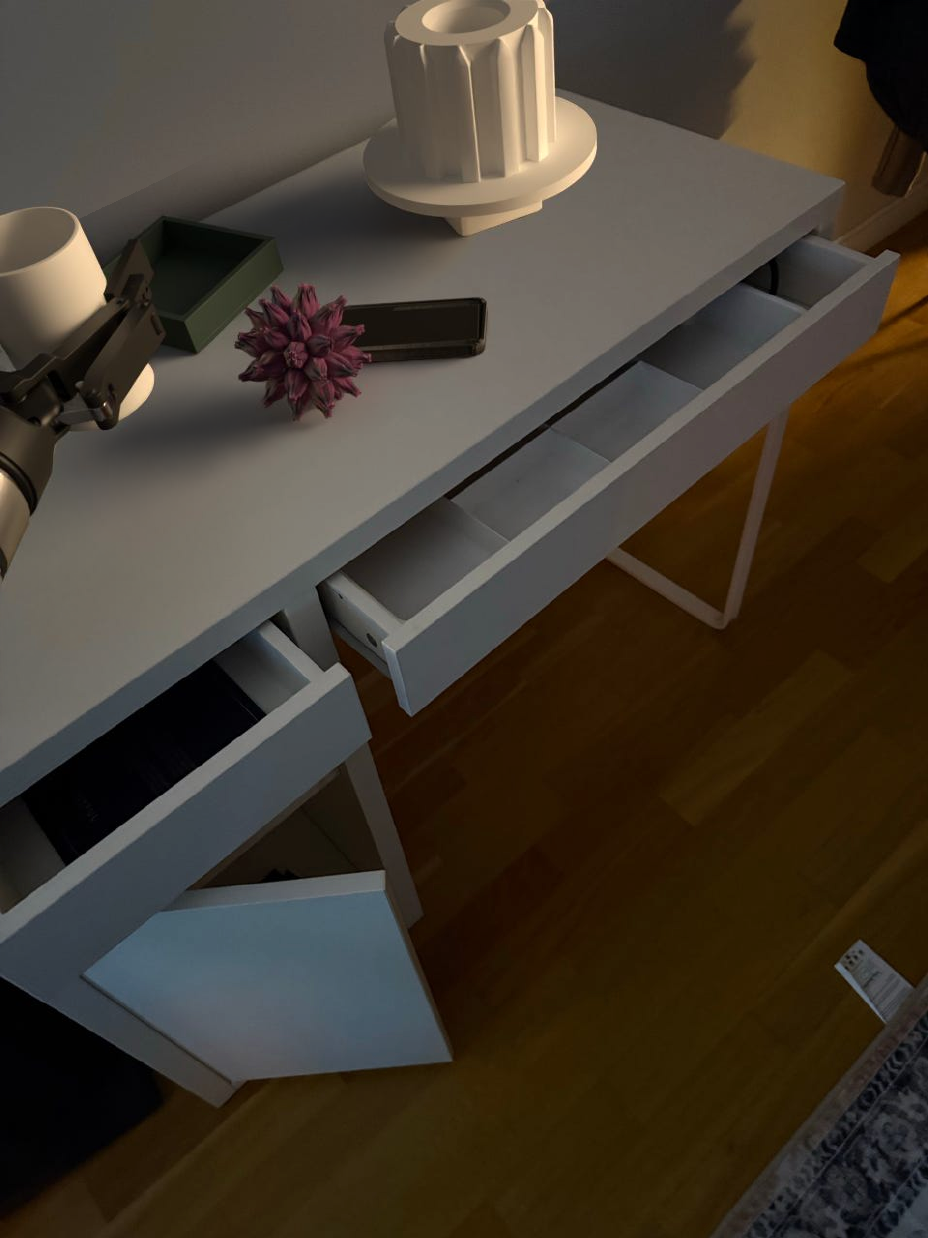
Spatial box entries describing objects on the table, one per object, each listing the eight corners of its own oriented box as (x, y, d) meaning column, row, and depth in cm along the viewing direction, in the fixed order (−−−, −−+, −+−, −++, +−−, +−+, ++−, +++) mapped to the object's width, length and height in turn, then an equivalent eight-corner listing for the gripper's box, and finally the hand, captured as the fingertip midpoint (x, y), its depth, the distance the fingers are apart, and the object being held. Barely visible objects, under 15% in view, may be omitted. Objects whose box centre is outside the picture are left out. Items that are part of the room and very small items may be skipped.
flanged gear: (532, 129, 111) (523, -54, 96) (639, 218, 97) (648, 18, 82) (344, 192, 107) (304, 10, 92) (426, 295, 92) (394, 99, 77)
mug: (75, 332, 71) (-4, 182, 61) (179, 327, 70) (115, 173, 60) (21, 435, 64) (-77, 283, 54) (136, 430, 63) (56, 274, 53)
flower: (362, 456, 81) (228, 442, 80) (376, 367, 88) (253, 353, 87) (363, 353, 71) (211, 335, 71) (379, 261, 78) (240, 245, 77)
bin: (84, 324, 96) (67, 292, 93) (174, 246, 104) (162, 214, 101) (197, 354, 90) (184, 321, 87) (284, 269, 98) (275, 236, 95)
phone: (483, 345, 84) (326, 353, 86) (484, 355, 85) (329, 363, 87) (487, 295, 89) (338, 304, 91) (488, 305, 90) (341, 314, 92)
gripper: (-162, 540, 55) (-25, 316, 69) (165, 526, 53) (240, 297, 66) (-253, 448, 49) (-83, 222, 63) (111, 428, 47) (206, 198, 60)
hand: (83, 261), depth 64 cm, fingers closed on mug, 8 cm apart
